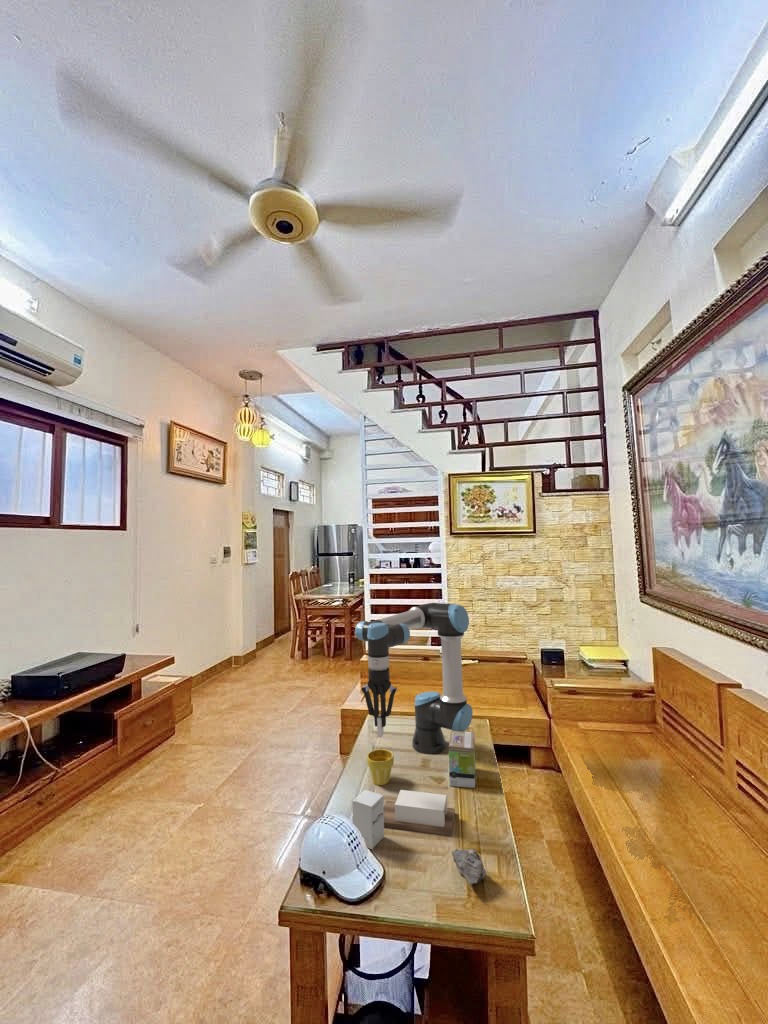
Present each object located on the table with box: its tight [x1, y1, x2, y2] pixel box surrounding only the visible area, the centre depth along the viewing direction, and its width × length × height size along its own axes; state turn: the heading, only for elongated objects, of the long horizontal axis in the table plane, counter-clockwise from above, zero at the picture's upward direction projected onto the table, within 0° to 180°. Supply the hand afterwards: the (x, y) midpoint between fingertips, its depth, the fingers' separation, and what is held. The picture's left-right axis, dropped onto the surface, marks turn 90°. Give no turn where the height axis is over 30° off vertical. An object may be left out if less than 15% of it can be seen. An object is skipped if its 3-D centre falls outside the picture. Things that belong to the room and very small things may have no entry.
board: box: [384, 800, 456, 837], centre depth 146 cm, size 12×24×4 cm, turn 76°
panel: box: [395, 789, 448, 827], centre depth 146 cm, size 9×16×5 cm, turn 76°
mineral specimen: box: [451, 848, 487, 886], centre depth 120 cm, size 10×8×10 cm
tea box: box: [448, 730, 476, 789], centre depth 172 cm, size 15×10×15 cm, turn 168°
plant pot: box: [366, 748, 395, 786], centre depth 171 cm, size 10×10×10 cm
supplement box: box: [351, 789, 385, 850], centre depth 137 cm, size 7×7×13 cm
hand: (380, 735), depth 155 cm, fingers closed
